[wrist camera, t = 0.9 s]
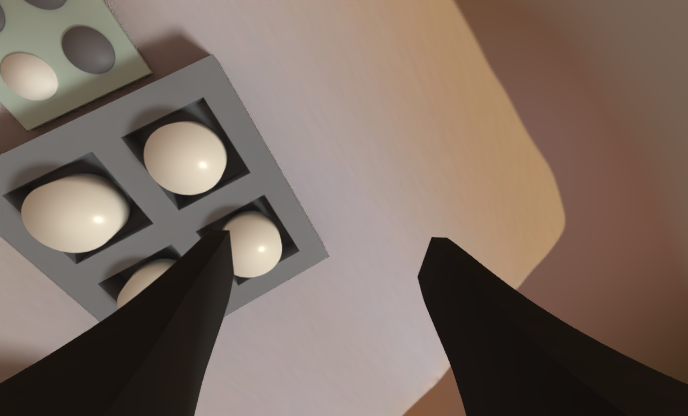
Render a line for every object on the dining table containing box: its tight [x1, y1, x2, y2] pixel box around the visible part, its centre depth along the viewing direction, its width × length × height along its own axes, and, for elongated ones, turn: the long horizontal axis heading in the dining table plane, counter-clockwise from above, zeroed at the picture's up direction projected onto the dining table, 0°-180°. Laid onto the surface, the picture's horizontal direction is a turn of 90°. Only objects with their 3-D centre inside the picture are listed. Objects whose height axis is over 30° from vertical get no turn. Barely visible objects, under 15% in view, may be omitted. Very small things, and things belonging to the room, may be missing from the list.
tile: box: [0, 0, 153, 131], centre depth 18 cm, size 9×9×1 cm
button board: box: [0, 54, 329, 322], centre depth 23 cm, size 18×18×3 cm
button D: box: [117, 259, 176, 309], centre depth 23 cm, size 5×5×3 cm
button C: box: [222, 211, 282, 278], centre depth 24 cm, size 5×5×3 cm
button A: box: [144, 121, 228, 195], centre depth 20 cm, size 5×5×3 cm
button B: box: [21, 173, 130, 253], centre depth 20 cm, size 5×5×3 cm
